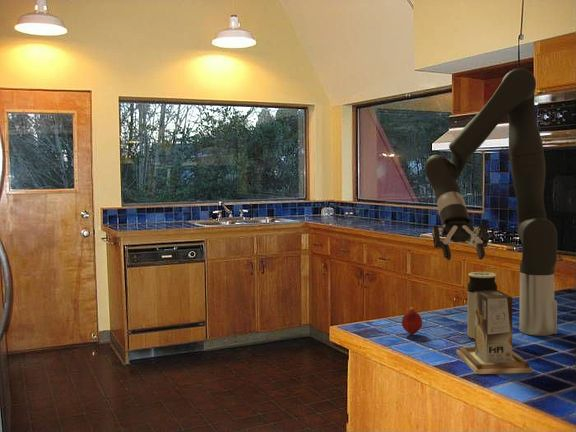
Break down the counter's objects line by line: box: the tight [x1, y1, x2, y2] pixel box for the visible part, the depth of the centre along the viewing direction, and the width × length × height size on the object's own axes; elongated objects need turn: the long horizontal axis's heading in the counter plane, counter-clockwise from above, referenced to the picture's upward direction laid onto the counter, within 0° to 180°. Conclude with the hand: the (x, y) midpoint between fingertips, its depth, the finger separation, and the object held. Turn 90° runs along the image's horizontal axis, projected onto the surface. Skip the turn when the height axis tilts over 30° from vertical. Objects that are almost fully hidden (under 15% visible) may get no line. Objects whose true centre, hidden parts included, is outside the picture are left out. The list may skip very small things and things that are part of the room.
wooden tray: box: [456, 345, 533, 375], centre depth 150 cm, size 13×16×2 cm
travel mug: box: [466, 271, 498, 340], centre depth 172 cm, size 8×8×18 cm
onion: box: [401, 306, 423, 336], centre depth 176 cm, size 6×6×8 cm
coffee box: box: [474, 289, 513, 363], centre depth 149 cm, size 9×6×16 cm
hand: (465, 258), depth 161 cm, fingers open, 8 cm apart
